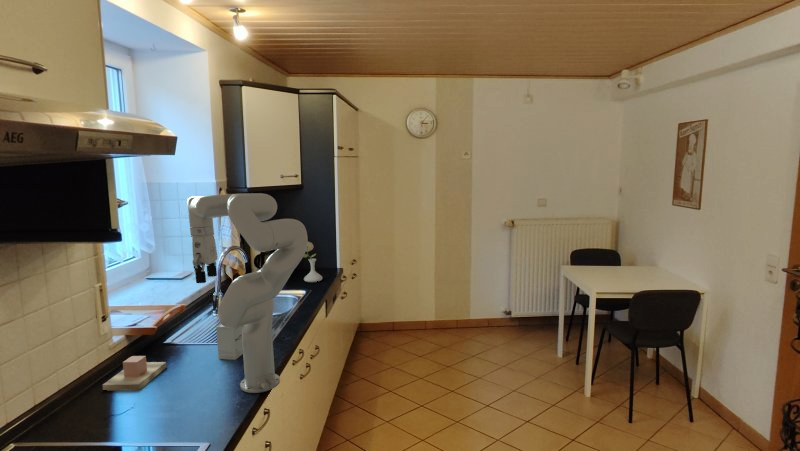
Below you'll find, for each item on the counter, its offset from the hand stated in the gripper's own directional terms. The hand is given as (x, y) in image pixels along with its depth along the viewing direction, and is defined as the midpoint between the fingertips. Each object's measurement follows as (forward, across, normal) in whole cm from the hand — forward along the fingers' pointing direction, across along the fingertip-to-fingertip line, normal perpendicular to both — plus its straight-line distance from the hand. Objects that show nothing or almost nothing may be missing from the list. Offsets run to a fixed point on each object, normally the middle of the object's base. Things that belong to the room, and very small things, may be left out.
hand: (206, 279), depth 165 cm
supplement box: (+32, +10, -3) cm, 34 cm away
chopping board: (+32, -8, +24) cm, 41 cm away
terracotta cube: (+30, -8, +24) cm, 39 cm away
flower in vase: (+31, +120, -14) cm, 125 cm away
